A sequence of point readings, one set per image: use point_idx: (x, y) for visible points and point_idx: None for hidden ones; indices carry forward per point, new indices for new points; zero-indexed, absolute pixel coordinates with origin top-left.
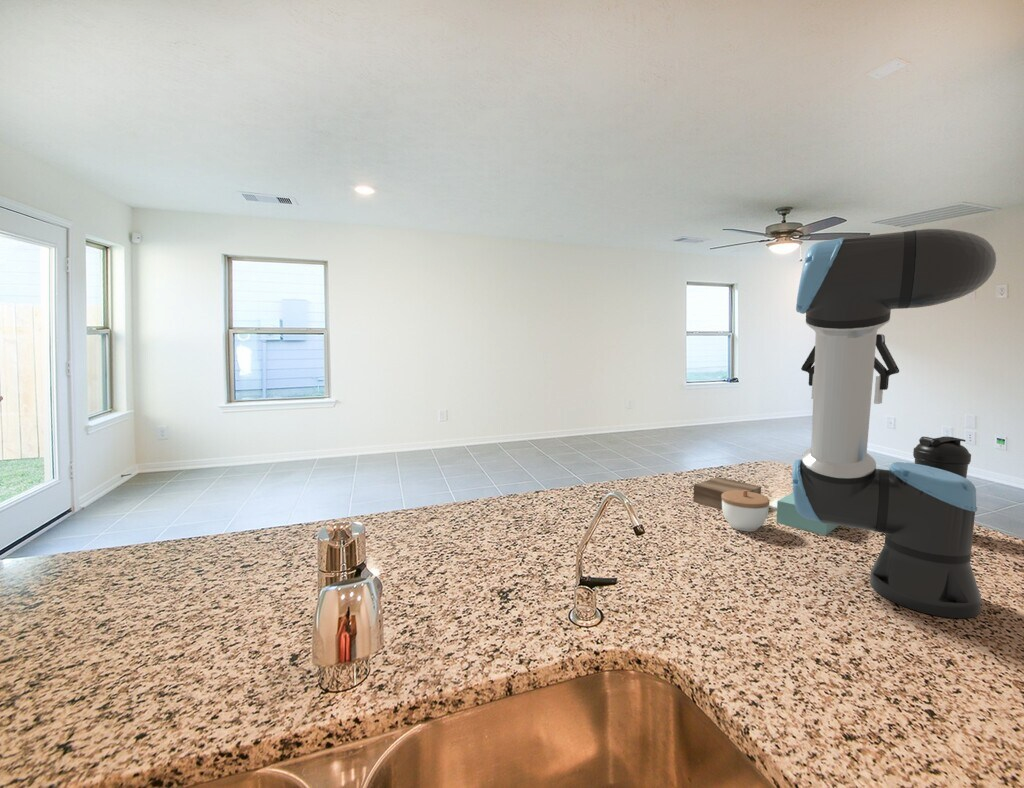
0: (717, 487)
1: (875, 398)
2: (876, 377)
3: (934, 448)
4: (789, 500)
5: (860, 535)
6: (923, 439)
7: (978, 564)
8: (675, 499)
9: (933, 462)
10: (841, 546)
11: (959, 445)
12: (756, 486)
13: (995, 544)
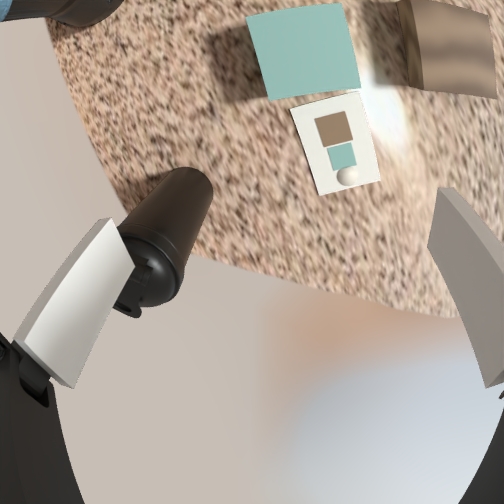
0: (461, 24)
1: (92, 234)
2: (26, 335)
3: None
4: (330, 22)
5: (224, 73)
6: (139, 269)
7: (107, 119)
8: (486, 10)
9: (127, 223)
10: (211, 6)
11: None
12: (429, 85)
13: (137, 205)
